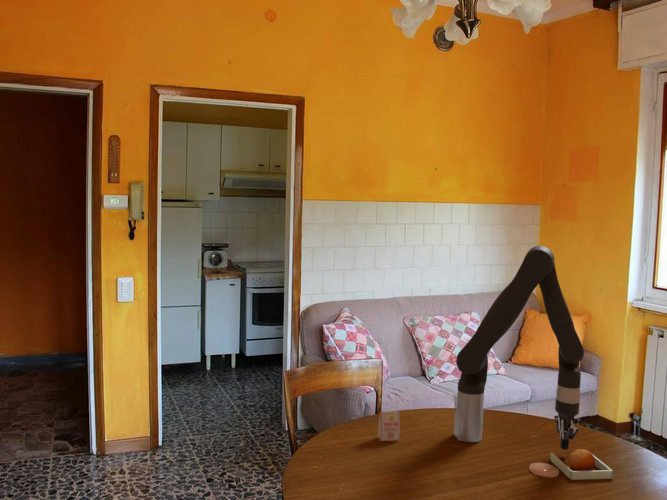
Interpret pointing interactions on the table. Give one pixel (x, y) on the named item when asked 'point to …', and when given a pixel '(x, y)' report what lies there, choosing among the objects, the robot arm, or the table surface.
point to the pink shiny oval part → (544, 470)
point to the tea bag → (389, 426)
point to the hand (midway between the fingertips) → (564, 448)
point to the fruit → (581, 460)
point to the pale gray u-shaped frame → (579, 475)
